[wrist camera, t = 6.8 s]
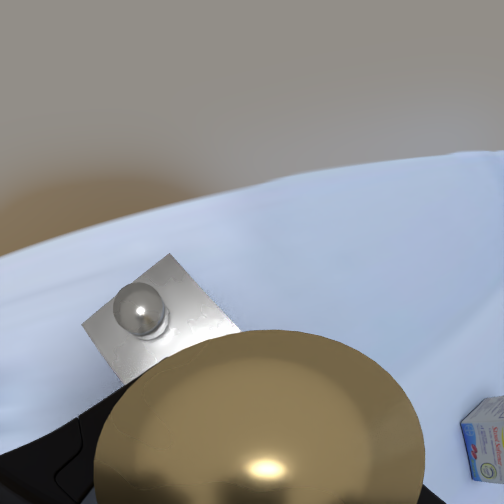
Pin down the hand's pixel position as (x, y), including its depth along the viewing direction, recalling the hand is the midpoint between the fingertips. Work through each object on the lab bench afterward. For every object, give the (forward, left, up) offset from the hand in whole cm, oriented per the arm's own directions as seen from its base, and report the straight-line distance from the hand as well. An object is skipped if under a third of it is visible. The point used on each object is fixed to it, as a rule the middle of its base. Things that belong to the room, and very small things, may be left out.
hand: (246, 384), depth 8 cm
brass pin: (-1, +1, -7) cm, 7 cm away
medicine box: (-23, -11, -13) cm, 28 cm away
